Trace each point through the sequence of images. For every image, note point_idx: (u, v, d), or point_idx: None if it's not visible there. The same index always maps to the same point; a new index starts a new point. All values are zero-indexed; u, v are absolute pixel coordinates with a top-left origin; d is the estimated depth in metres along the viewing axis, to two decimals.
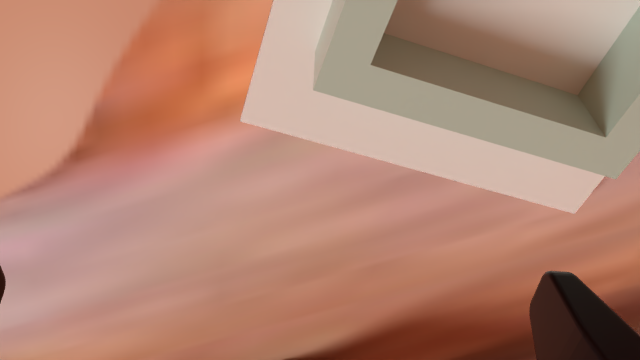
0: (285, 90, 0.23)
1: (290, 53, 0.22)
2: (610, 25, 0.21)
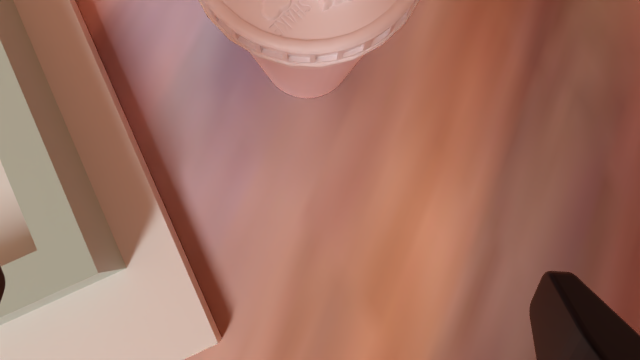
0: None
1: None
2: None
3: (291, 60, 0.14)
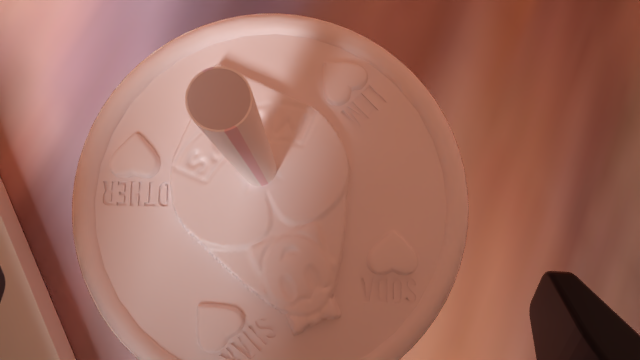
0: None
1: None
2: None
3: None
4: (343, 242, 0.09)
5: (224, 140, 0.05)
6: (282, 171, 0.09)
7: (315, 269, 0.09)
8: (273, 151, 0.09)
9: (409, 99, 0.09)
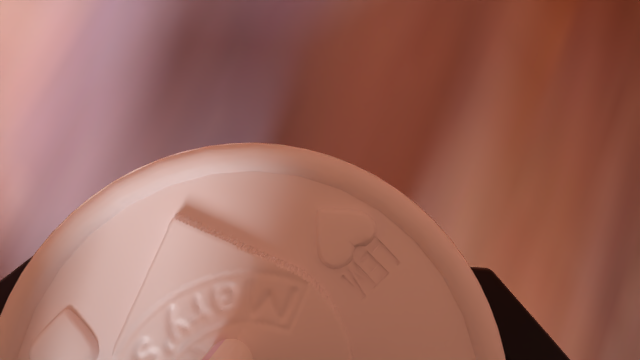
0: None
1: None
2: None
3: None
4: None
5: None
6: None
7: None
8: (249, 340, 0.07)
9: (431, 259, 0.07)
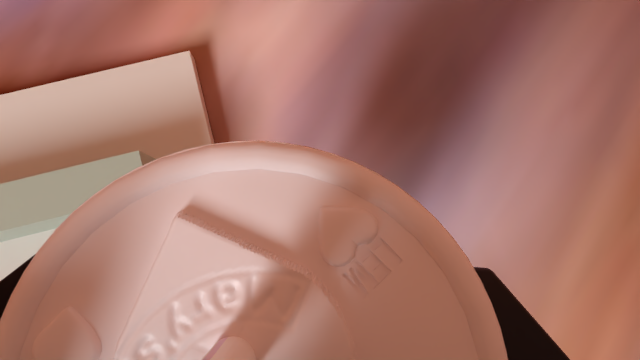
0: None
1: None
2: None
3: None
4: None
5: None
6: None
7: None
8: (251, 338, 0.07)
9: (433, 258, 0.07)
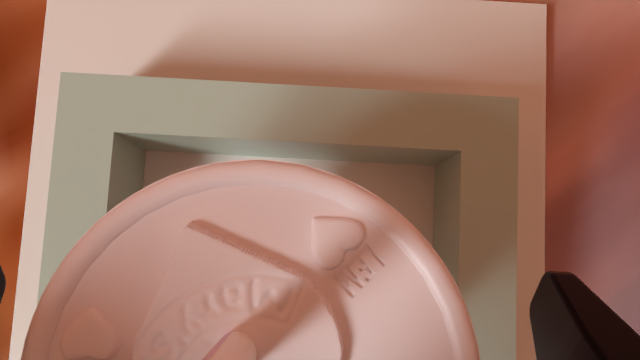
0: None
1: None
2: None
3: None
4: None
5: None
6: (263, 357, 0.07)
7: None
8: (253, 333, 0.07)
9: (413, 262, 0.08)
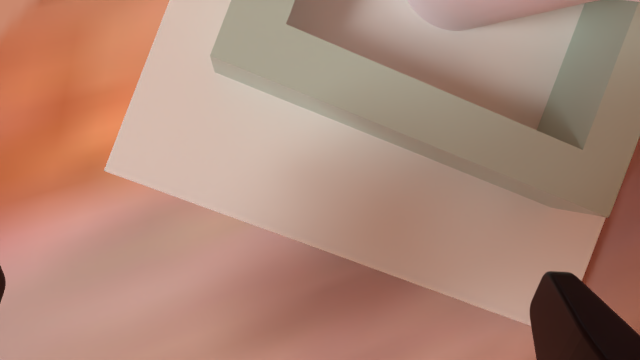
0: (172, 125, 0.17)
1: (183, 73, 0.17)
2: (545, 63, 0.19)
3: None
4: None
5: None
6: None
7: None
8: None
9: None
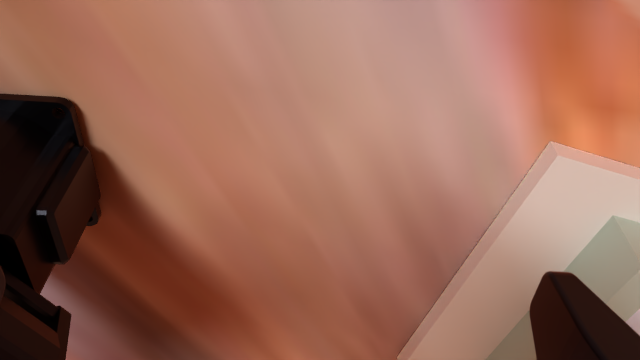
0: (580, 193, 0.24)
1: (617, 198, 0.24)
2: None
3: None
4: None
5: None
6: None
7: None
8: None
9: None
